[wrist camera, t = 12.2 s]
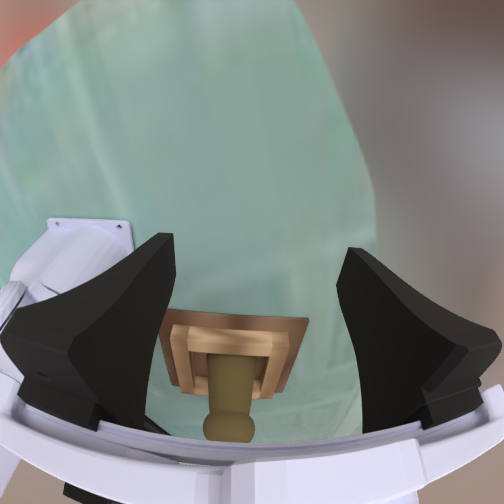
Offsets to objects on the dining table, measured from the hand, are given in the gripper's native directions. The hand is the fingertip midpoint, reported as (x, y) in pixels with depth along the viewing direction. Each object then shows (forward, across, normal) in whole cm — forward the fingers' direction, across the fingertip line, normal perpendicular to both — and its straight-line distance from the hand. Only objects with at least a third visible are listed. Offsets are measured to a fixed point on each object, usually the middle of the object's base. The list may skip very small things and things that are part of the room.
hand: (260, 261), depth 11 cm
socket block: (+10, +1, +22) cm, 24 cm away
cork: (+10, +1, +21) cm, 24 cm away
